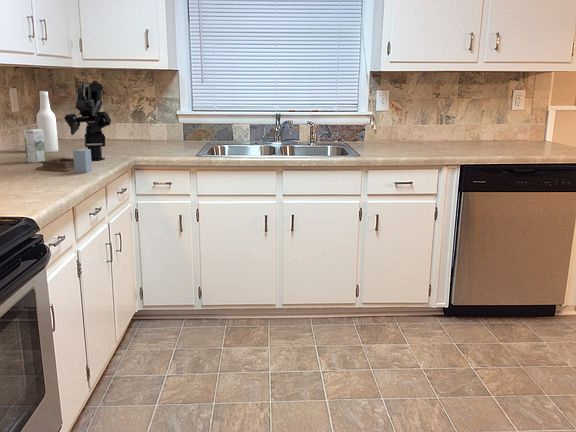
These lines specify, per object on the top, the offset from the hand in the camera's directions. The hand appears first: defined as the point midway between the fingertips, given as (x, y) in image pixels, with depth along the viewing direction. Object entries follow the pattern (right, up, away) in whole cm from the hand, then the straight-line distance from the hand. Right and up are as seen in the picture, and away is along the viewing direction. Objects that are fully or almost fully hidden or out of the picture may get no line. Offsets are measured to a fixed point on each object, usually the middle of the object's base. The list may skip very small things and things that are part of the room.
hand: (81, 133), depth 213 cm
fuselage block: (+2, -16, -3) cm, 17 cm away
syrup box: (-28, -10, +18) cm, 35 cm away
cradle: (-9, -14, +4) cm, 17 cm away
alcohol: (-37, -1, +51) cm, 63 cm away
